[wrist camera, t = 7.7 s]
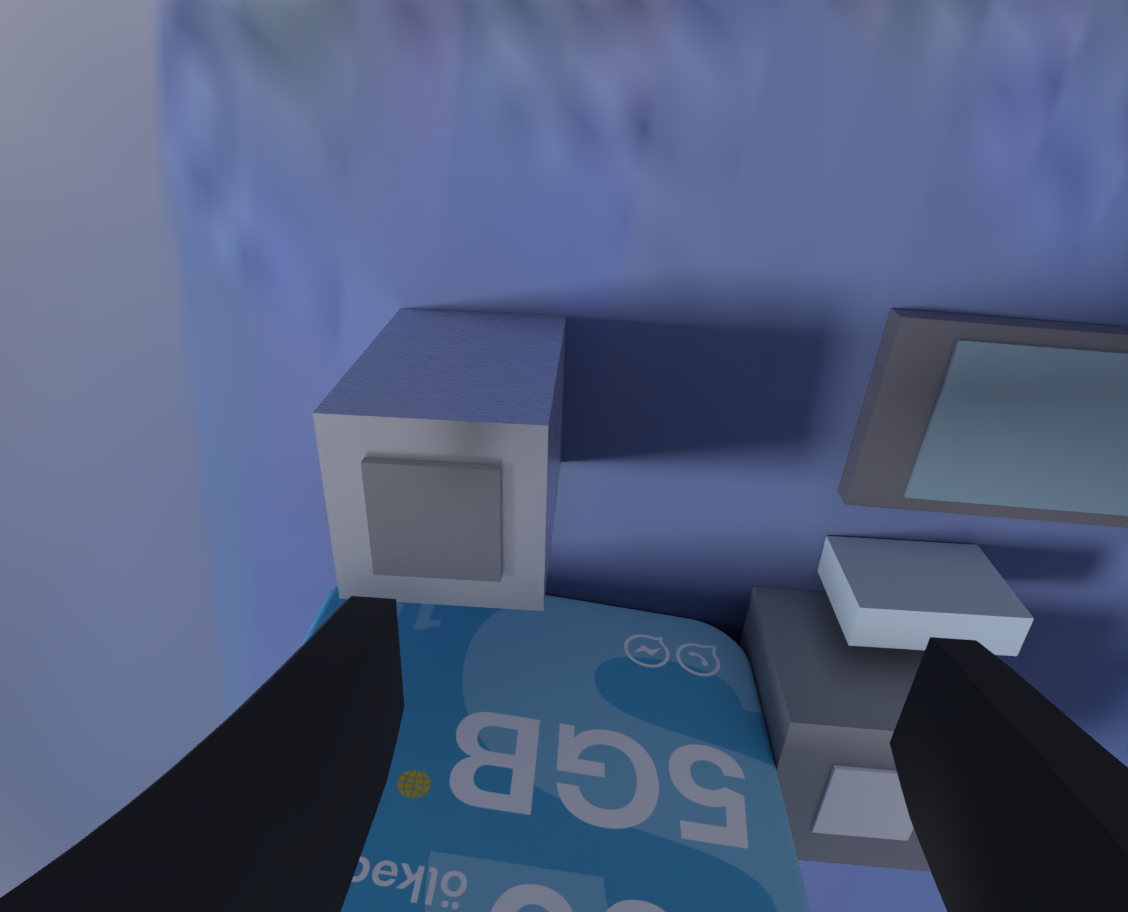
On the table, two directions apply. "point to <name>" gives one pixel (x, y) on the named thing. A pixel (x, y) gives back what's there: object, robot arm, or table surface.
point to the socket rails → (920, 594)
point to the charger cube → (832, 730)
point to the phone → (995, 419)
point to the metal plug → (446, 459)
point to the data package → (575, 768)
